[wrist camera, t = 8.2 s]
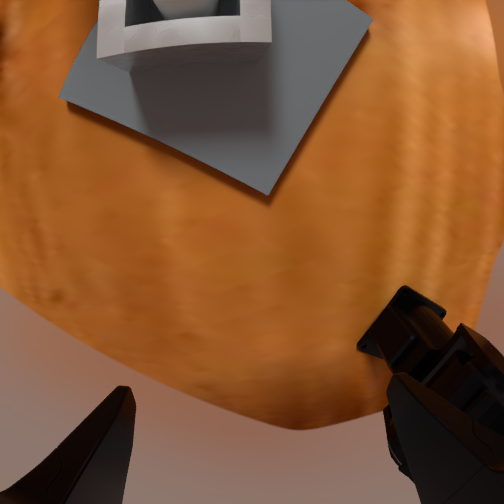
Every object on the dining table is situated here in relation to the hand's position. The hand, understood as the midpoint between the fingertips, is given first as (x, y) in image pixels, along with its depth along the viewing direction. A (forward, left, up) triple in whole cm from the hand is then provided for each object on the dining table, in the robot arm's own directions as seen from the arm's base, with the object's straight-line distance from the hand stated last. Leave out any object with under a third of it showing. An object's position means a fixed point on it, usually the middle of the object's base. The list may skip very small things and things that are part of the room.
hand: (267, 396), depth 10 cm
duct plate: (+8, -11, -12) cm, 17 cm away
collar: (+10, -12, -11) cm, 19 cm away
